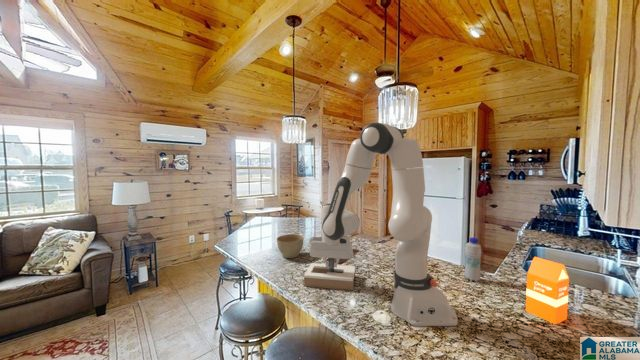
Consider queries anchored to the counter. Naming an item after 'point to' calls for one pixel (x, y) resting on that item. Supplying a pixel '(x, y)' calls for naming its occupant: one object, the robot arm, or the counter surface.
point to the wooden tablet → (344, 259)
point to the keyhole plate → (330, 277)
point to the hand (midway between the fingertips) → (331, 266)
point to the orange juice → (547, 290)
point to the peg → (331, 265)
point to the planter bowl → (290, 245)
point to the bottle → (472, 260)
